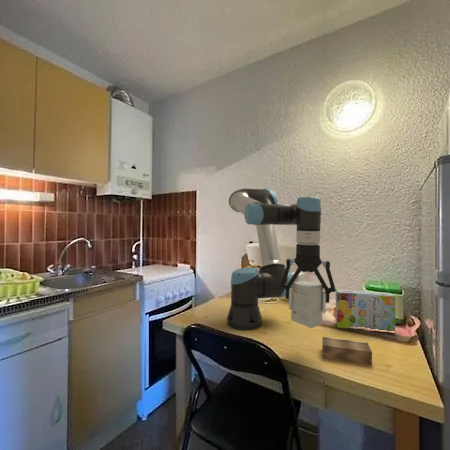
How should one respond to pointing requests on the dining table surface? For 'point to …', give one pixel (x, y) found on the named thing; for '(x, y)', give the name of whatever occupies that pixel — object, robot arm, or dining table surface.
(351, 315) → the snack box
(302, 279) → the skincare box
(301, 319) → the small box
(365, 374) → the dining table surface
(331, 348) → the walnut step
